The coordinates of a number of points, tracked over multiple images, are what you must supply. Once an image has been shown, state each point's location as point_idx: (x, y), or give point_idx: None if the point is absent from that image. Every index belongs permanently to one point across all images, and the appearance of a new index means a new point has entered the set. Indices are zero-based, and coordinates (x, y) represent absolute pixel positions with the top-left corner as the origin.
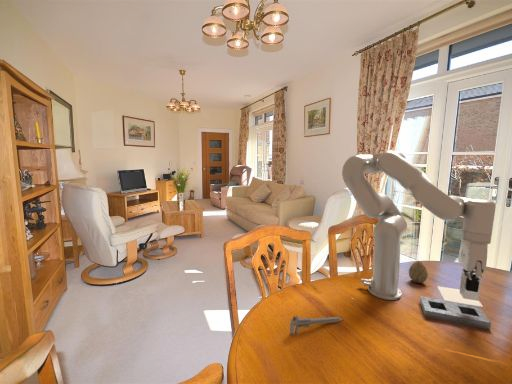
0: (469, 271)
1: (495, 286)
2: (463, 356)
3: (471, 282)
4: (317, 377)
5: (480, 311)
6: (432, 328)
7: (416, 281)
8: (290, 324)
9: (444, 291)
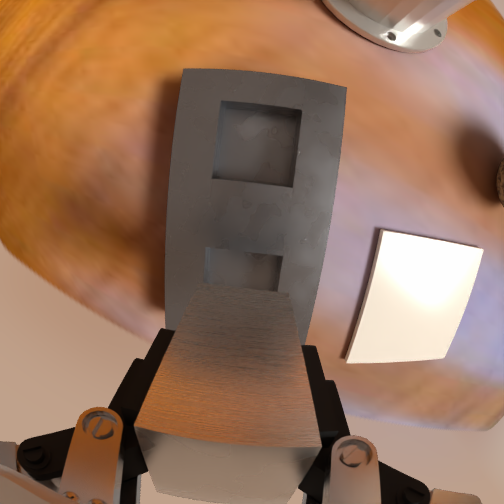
0: (73, 498)
1: (455, 411)
2: (24, 170)
3: (112, 405)
4: None
5: None
6: (125, 100)
7: (499, 167)
8: None
9: (450, 262)
